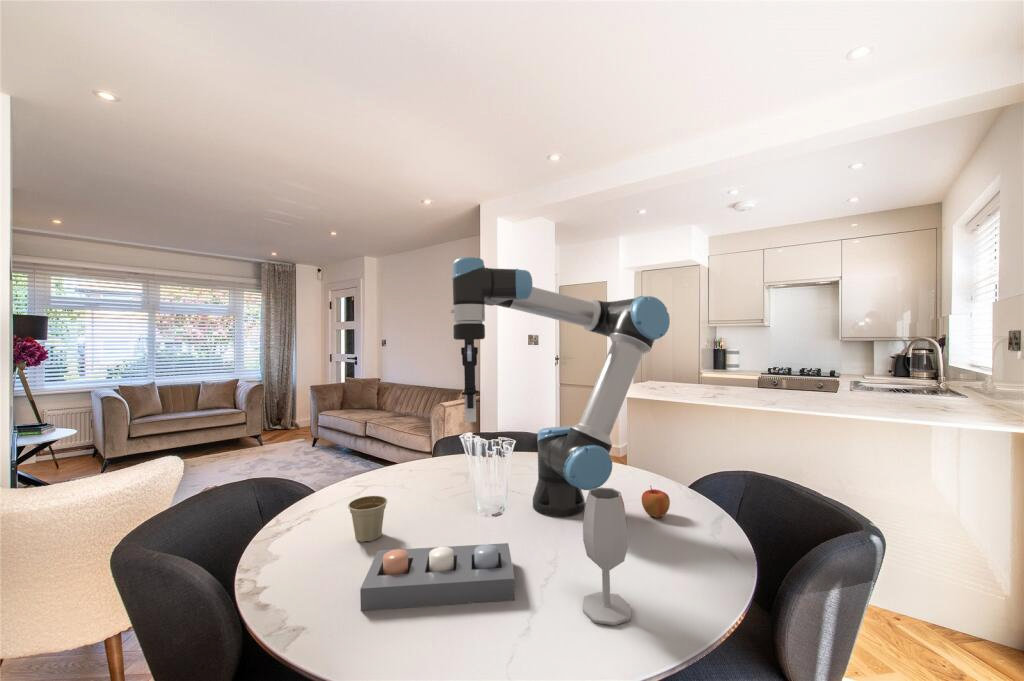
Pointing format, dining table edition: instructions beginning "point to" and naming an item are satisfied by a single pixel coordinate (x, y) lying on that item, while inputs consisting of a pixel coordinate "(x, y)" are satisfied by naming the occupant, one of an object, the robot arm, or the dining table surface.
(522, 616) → the dining table surface
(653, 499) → the apple
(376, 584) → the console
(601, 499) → the wineglass
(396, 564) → the terracotta key
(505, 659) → the dining table surface
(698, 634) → the dining table surface
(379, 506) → the flower pot
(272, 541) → the dining table surface
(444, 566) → the ivory key
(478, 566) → the slate key
